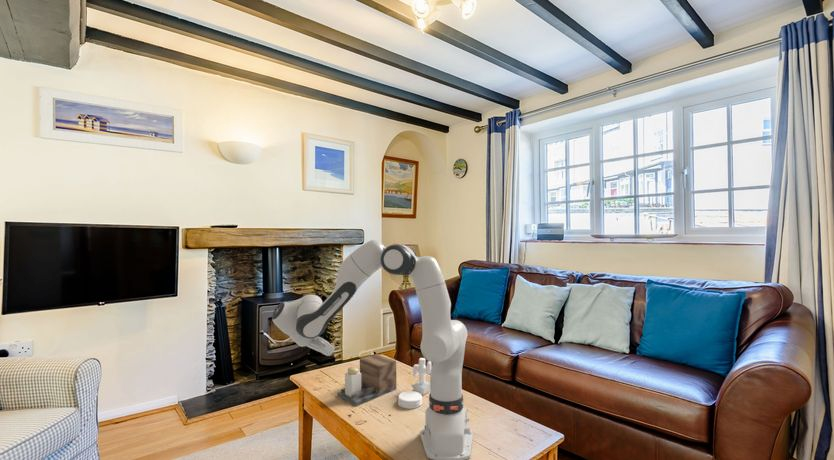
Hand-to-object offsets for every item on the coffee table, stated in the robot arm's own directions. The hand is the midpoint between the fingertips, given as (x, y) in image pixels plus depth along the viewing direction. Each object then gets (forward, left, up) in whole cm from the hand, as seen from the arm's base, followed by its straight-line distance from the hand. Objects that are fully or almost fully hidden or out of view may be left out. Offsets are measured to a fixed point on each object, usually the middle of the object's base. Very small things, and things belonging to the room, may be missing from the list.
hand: (326, 353), depth 153 cm
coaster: (+5, -34, -23) cm, 41 cm away
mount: (+16, -15, -22) cm, 31 cm away
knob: (+9, -9, -21) cm, 24 cm away
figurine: (+16, -39, -23) cm, 47 cm away
